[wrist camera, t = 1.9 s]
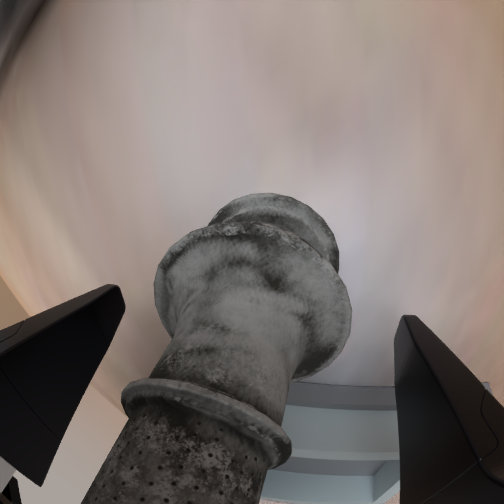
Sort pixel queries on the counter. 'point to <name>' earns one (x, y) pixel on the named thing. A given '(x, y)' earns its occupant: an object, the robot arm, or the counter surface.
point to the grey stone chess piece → (229, 356)
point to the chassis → (338, 446)
